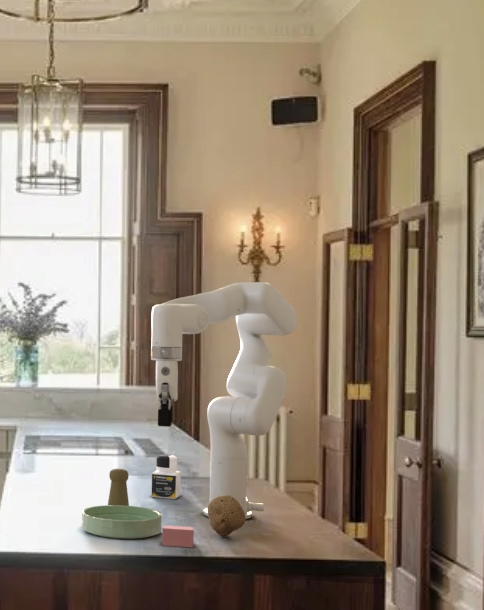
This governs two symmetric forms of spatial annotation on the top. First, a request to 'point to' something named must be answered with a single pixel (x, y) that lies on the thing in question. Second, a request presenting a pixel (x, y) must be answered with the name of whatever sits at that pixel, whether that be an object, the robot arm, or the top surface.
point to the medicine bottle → (166, 478)
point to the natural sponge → (225, 515)
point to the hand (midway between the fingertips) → (165, 424)
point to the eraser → (178, 536)
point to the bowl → (121, 521)
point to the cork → (118, 487)
